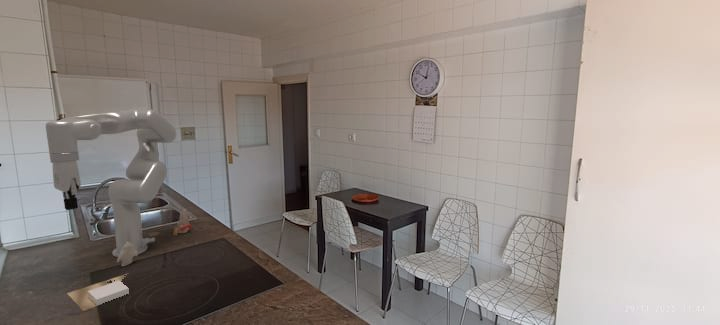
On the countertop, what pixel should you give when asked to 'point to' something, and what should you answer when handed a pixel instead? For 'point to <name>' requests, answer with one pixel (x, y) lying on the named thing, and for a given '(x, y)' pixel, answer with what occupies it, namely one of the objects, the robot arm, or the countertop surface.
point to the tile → (108, 292)
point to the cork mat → (82, 294)
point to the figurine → (182, 223)
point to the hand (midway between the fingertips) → (71, 208)
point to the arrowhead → (127, 254)
